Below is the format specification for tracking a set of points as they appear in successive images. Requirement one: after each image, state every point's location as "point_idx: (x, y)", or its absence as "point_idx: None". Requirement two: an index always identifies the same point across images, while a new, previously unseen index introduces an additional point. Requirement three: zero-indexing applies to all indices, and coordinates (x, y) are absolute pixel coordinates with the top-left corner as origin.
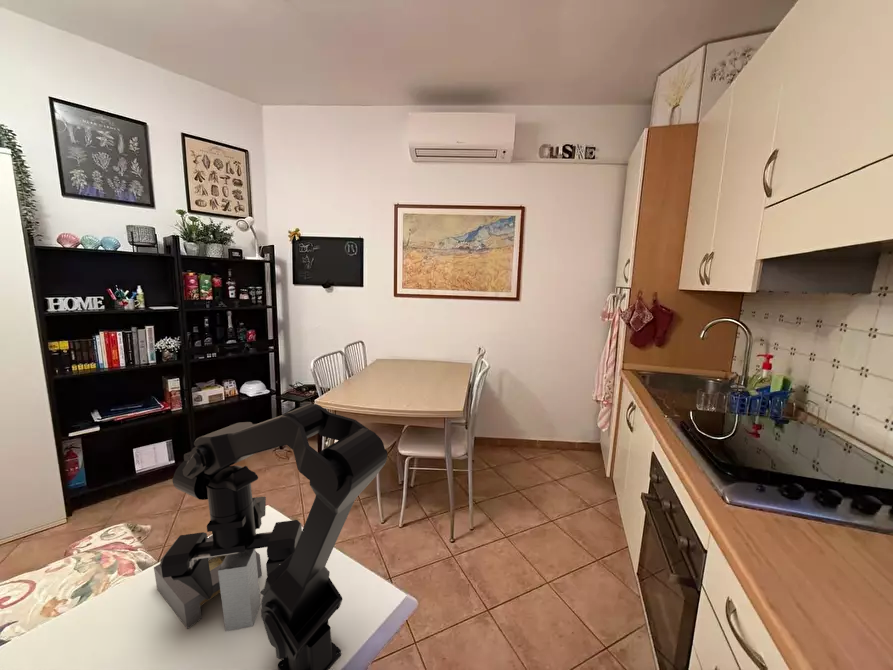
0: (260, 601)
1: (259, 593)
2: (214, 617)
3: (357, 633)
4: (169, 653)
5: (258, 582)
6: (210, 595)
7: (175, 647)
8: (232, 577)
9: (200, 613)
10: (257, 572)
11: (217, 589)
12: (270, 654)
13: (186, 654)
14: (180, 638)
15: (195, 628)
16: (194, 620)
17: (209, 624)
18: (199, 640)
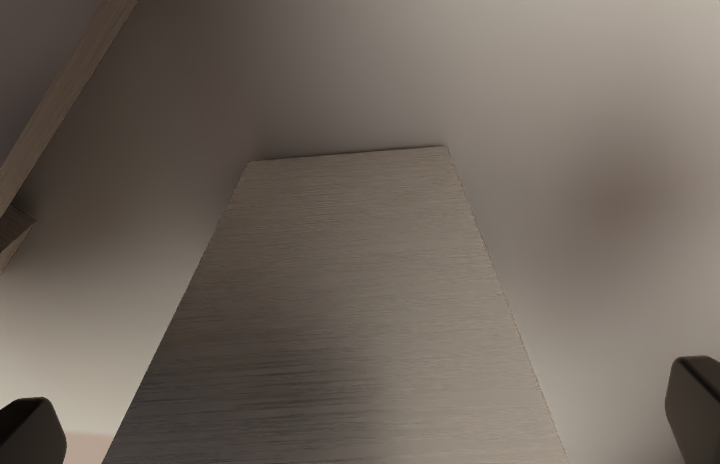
0: (449, 155)
1: (461, 191)
2: (125, 207)
3: None
4: (17, 391)
5: (484, 250)
6: (48, 447)
7: (22, 366)
8: None
9: (8, 243)
10: (517, 336)
11: (12, 190)
12: (600, 449)
13: (124, 405)
14: (3, 321)
15: (48, 271)
16: (1, 263)
17: (127, 254)
18: (140, 345)
